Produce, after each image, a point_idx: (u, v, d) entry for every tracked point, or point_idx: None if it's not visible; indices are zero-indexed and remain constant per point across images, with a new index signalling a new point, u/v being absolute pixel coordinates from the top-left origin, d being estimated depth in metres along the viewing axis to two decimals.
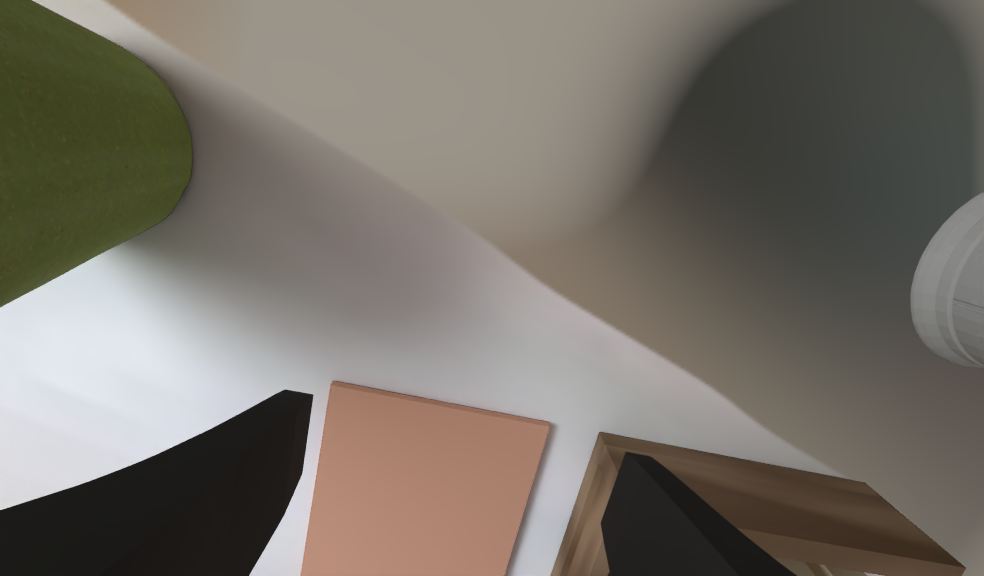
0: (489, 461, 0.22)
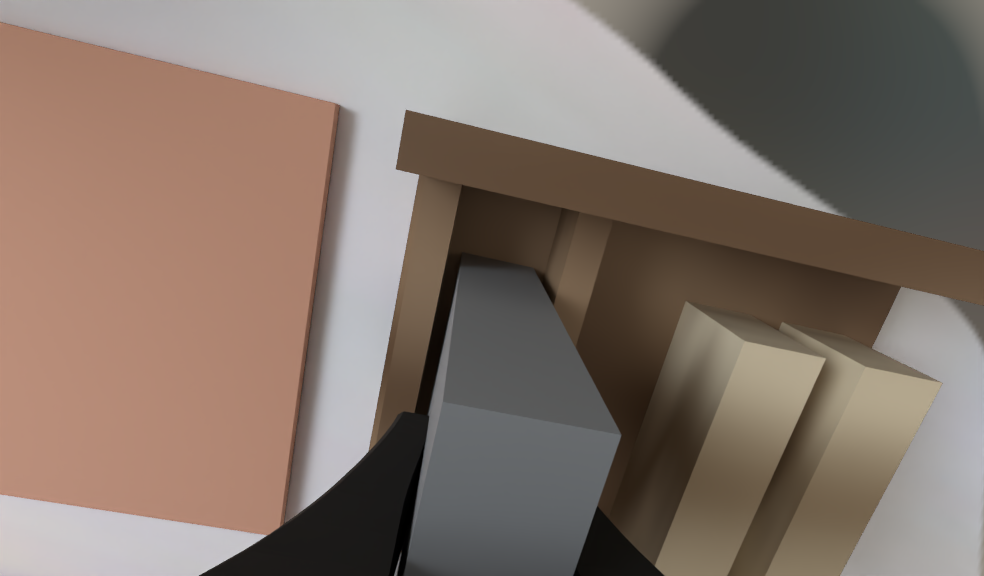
0: (237, 174, 0.12)
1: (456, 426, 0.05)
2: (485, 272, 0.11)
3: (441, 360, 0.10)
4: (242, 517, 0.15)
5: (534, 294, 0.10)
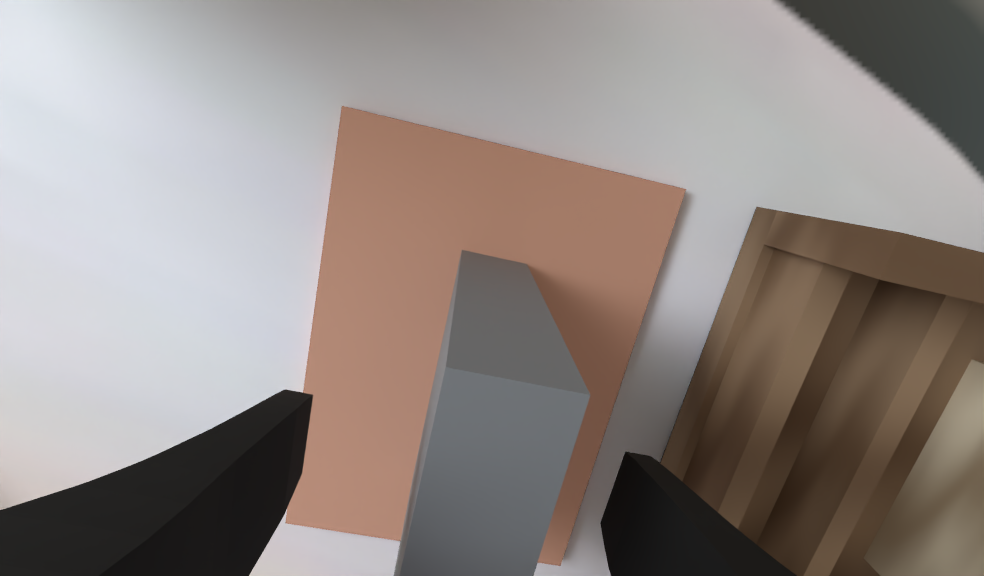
0: (588, 250, 0.14)
1: (456, 387, 0.06)
2: (482, 267, 0.12)
3: (443, 345, 0.11)
4: None
5: (526, 287, 0.11)
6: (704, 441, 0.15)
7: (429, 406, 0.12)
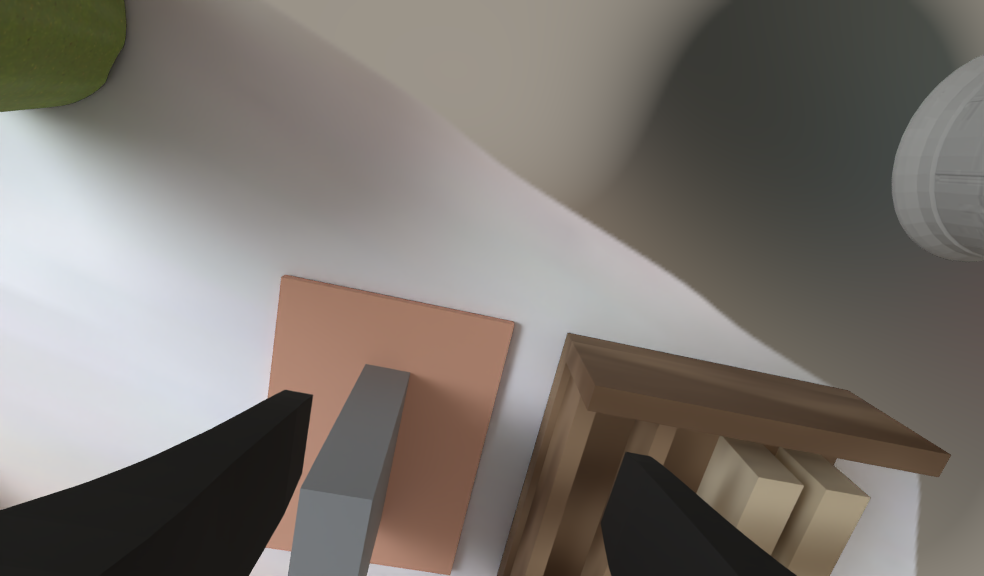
0: (451, 363, 0.21)
1: (306, 497, 0.13)
2: (370, 385, 0.19)
3: None
4: (428, 563, 0.24)
5: (392, 403, 0.18)
6: (537, 490, 0.22)
7: None
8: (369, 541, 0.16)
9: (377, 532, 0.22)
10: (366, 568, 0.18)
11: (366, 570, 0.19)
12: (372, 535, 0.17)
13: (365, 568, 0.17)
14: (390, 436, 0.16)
